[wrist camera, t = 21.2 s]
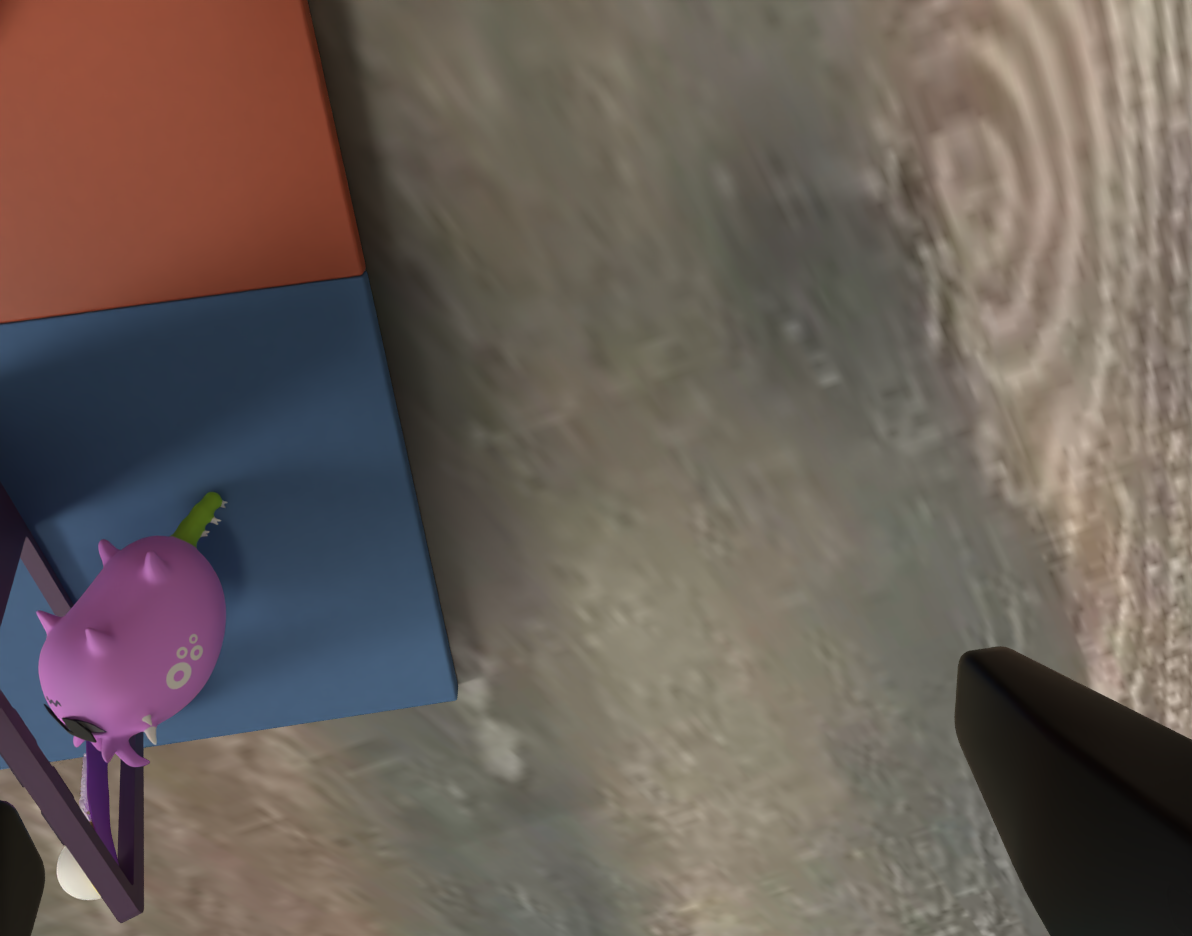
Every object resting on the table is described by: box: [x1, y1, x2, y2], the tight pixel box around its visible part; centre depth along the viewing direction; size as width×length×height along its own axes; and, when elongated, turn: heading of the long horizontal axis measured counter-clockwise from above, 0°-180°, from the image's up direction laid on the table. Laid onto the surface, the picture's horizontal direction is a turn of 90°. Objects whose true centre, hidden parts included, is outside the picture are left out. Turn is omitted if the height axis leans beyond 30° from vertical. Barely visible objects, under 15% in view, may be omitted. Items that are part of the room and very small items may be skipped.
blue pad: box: [0, 271, 458, 769], centre depth 22 cm, size 12×11×1 cm
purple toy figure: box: [0, 482, 228, 923], centre depth 19 cm, size 7×5×9 cm
